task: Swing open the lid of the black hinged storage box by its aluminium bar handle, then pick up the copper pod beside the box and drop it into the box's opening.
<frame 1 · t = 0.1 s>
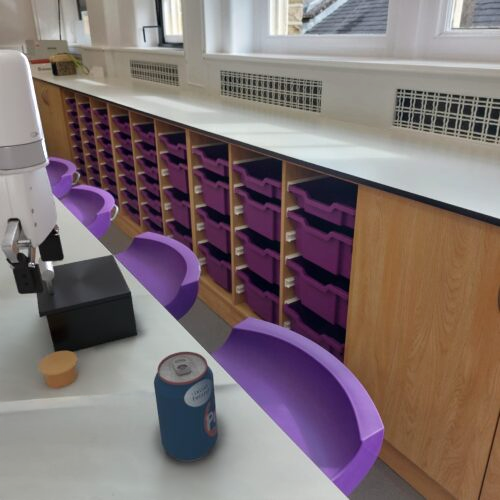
hand: (43, 275, 69), 16 cm above the table, tool pointing down, fingers open, 9 cm apart
lid: (78, 270, 80), point 12 cm above the table, hinge at 0.0°
black hinged storage box: (92, 328, 85), on the table
soda can: (190, 444, 61), on the table
cylindrical container: (47, 257, 113), on the table
pod: (63, 386, 72), on the table
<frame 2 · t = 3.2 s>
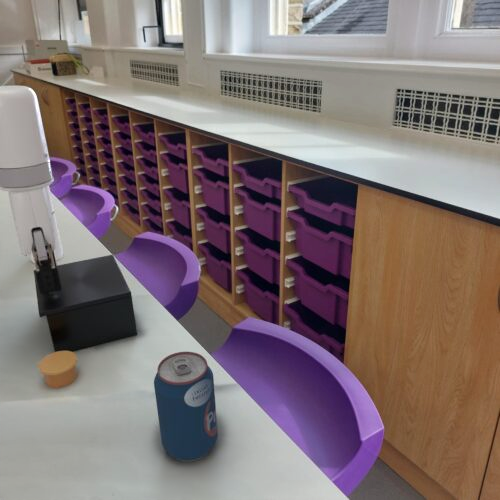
hand: (49, 281, 79), 11 cm above the table, tool pointing down, fingers closed on lid, 6 cm apart
lid: (78, 270, 80), point 12 cm above the table, hinge at 0.0°, touching gripper
everything else where it was.
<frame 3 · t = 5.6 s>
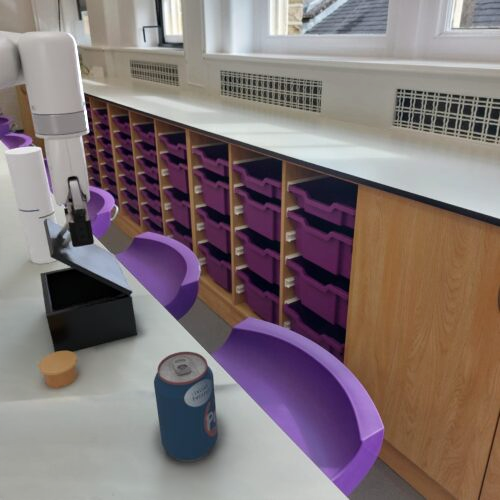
hand: (80, 236, 78), 17 cm above the table, tool pointing down, fingers closed on lid, 6 cm apart
lid: (94, 244, 80), point 16 cm above the table, hinge at 41.8°, touching gripper
everything else where it was.
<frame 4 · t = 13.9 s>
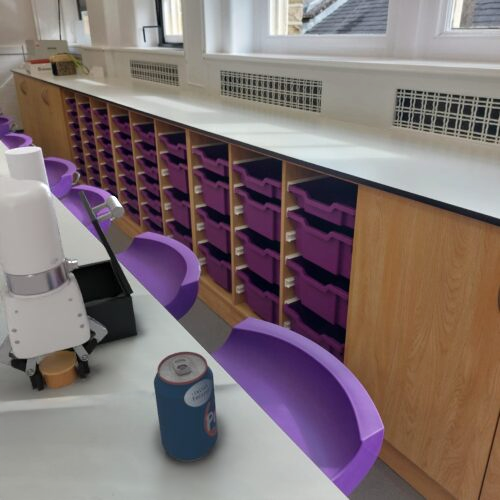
hand: (63, 383, 71), 0 cm above the table, tool pointing down, fingers closed on pod, 5 cm apart
lid: (117, 234, 81), point 17 cm above the table, hinge at 74.2°
pod: (63, 386, 72), on the table, touching gripper
everything else where it was.
when the fingers open (6 cm above the table, at t = 21.7 s): pod drops 5 cm, resting on black hinged storage box.
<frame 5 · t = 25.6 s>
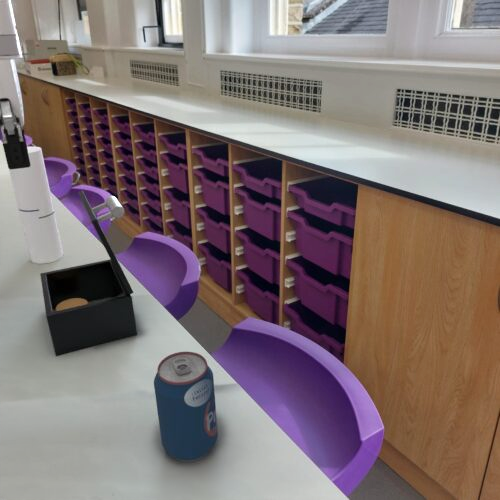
hand: (19, 161, 80), 28 cm above the table, tool pointing down, fingers open, 9 cm apart
pod: (76, 328, 84), point 1 cm above the table, touching black hinged storage box
everything else where it was.
at the end: lid at +74° (first picture: +0°); pod inside the target area in the black hinged storage box (2.4 cm from its centre), point 0.9 cm above the black hinged storage box's base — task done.
